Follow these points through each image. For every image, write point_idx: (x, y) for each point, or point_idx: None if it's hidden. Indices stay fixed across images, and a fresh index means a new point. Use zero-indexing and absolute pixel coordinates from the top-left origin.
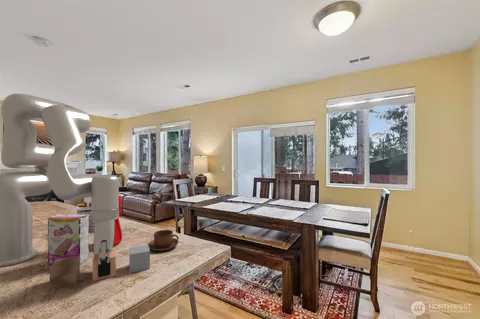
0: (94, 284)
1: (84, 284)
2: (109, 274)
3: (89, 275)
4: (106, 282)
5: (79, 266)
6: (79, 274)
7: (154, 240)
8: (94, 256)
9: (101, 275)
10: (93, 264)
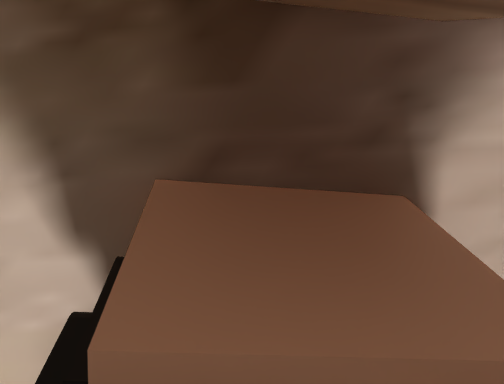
0: (39, 202)
1: (97, 94)
2: None
3: (332, 140)
4: (30, 314)
5: (495, 12)
6: (429, 18)
7: None
8: (375, 367)
9: None
10: (110, 305)
